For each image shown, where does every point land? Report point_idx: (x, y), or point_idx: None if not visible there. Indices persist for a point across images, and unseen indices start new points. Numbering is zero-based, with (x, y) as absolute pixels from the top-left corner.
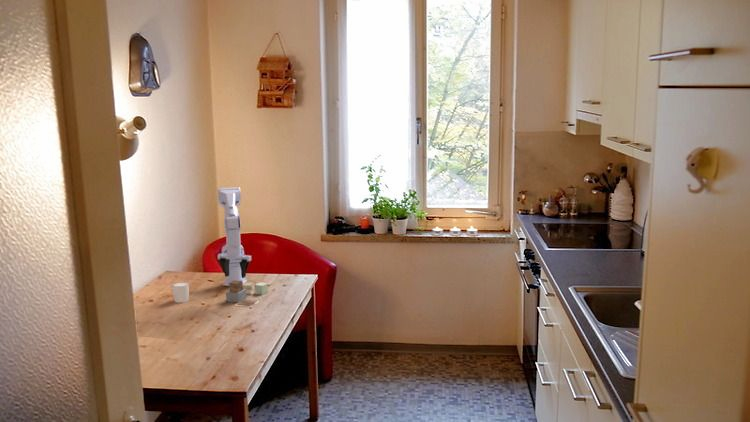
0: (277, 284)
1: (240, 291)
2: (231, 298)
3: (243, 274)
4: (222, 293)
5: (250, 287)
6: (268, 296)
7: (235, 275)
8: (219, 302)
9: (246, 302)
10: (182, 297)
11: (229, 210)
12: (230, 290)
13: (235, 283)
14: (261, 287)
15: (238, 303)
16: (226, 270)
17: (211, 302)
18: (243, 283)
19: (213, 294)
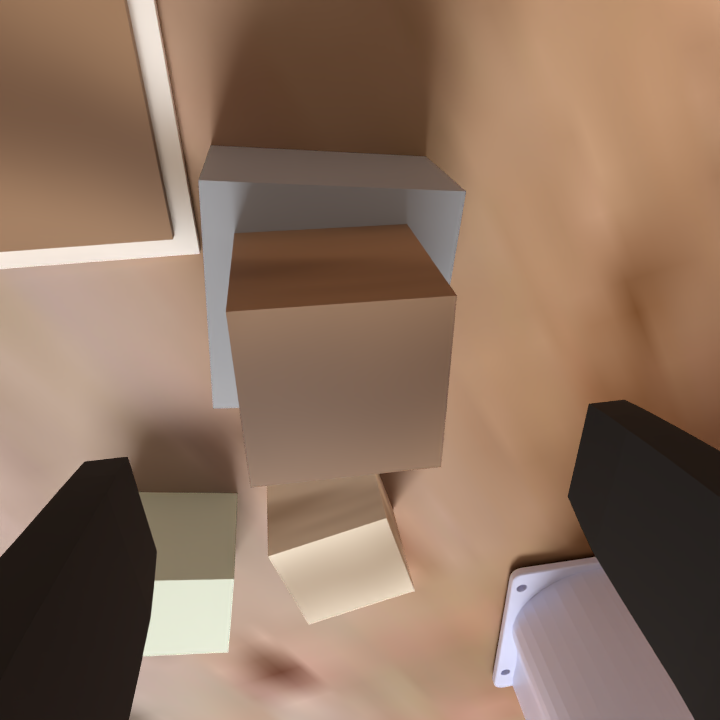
0: (203, 711)
1: None
2: (342, 163)
3: (23, 546)
4: (591, 382)
5: (276, 528)
6: (8, 471)
7: (589, 677)
8: (493, 49)
9: (25, 116)
10: None
11: None
12: (395, 234)
13: (287, 303)
14: None
15: (116, 18)
16: (699, 547)
17: (613, 9)
18: (400, 566)
19: (682, 323)
